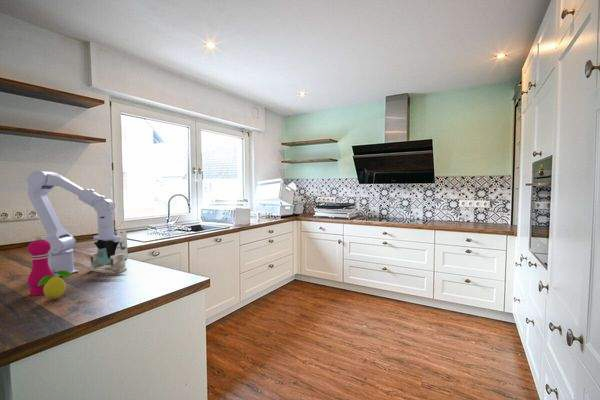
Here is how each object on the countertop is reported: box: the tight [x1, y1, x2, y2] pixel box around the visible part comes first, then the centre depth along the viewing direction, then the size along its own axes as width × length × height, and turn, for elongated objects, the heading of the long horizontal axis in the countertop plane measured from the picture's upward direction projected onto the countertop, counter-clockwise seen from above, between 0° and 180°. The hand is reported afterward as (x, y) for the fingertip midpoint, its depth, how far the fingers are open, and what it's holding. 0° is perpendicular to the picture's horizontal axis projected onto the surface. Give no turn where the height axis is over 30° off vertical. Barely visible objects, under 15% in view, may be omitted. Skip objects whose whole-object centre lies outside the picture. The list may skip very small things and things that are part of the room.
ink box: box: [115, 229, 129, 260], centre depth 144 cm, size 9×5×15 cm, turn 62°
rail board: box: [89, 251, 128, 275], centre depth 125 cm, size 6×15×7 cm, turn 68°
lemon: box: [38, 269, 73, 300], centre depth 93 cm, size 7×6×10 cm
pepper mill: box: [26, 235, 55, 296], centre depth 100 cm, size 7×7×20 cm
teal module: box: [96, 248, 111, 265], centre depth 124 cm, size 5×4×6 cm
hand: (107, 257), depth 125 cm, fingers closed on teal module, 4 cm apart
